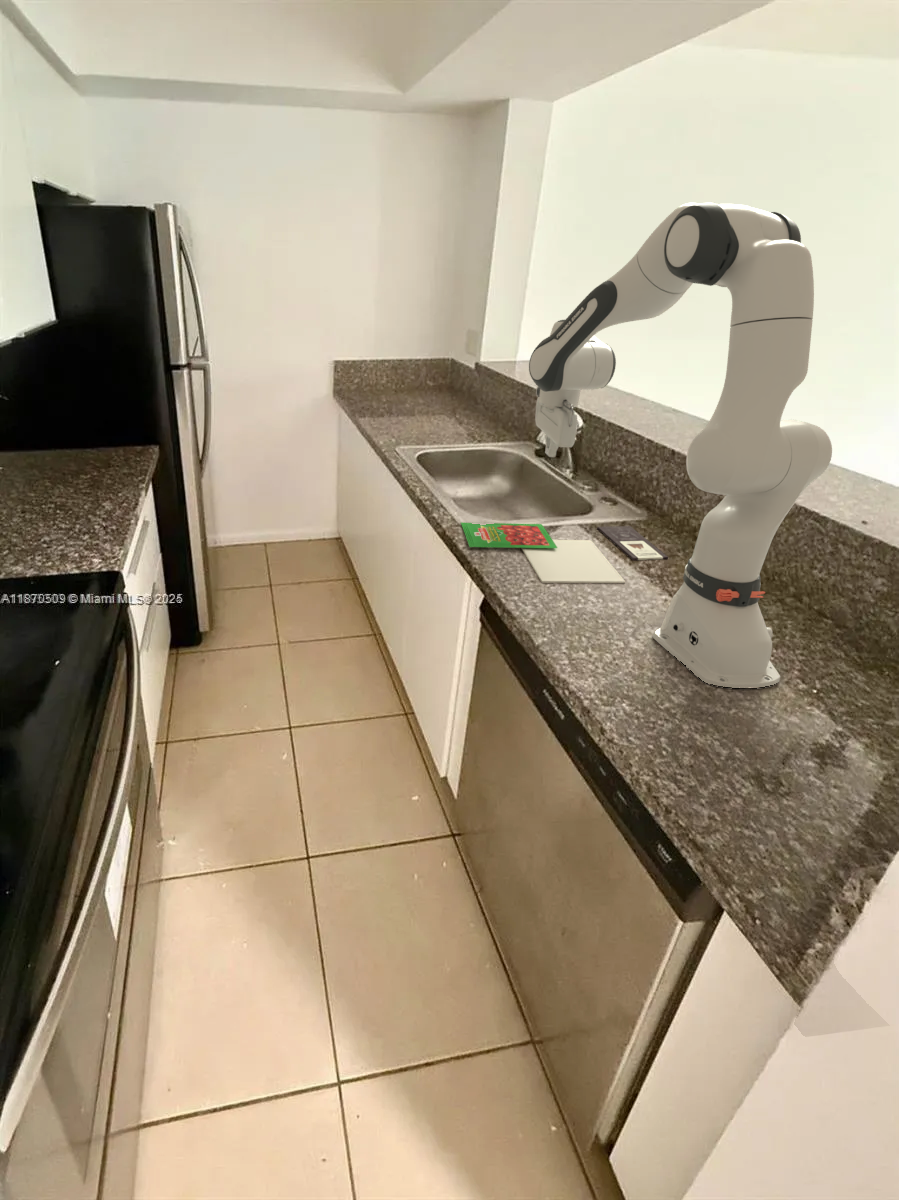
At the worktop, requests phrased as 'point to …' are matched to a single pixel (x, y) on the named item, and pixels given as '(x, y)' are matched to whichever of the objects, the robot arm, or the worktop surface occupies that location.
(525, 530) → the tomato puree packet
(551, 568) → the rubber mat
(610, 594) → the worktop surface
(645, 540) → the chocolate bar
